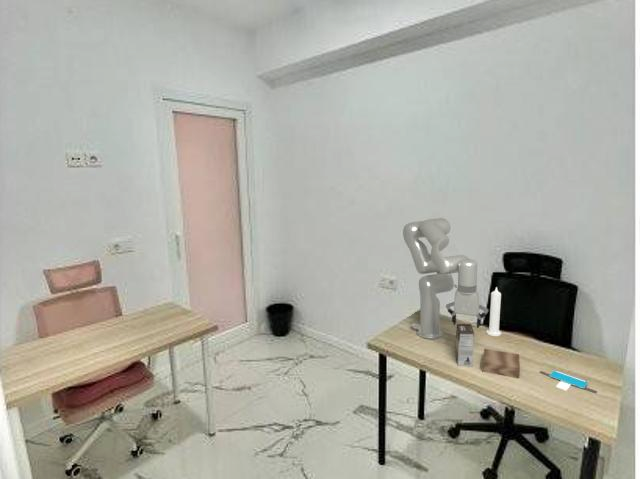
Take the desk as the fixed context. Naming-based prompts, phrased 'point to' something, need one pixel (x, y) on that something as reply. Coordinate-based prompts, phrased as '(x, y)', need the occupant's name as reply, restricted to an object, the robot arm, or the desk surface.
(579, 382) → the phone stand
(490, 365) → the walnut block
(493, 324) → the candle
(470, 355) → the coffee box
